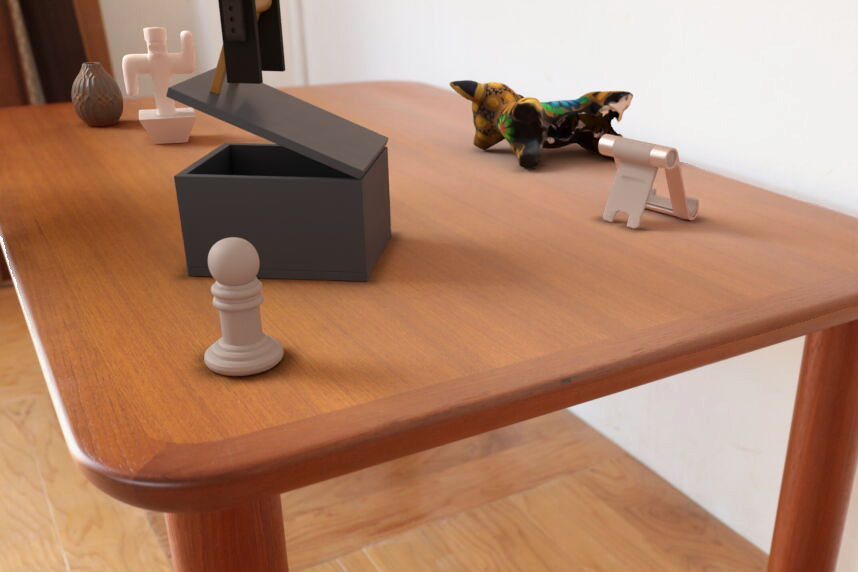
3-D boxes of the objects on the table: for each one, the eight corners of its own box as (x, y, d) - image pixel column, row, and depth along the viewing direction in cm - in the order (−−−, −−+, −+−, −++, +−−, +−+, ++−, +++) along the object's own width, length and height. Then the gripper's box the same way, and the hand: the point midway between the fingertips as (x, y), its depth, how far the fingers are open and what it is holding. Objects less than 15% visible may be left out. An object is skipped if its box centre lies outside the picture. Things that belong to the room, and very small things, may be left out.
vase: (102, 130, 130) (91, 67, 126) (66, 126, 132) (54, 64, 128) (136, 121, 136) (127, 61, 132) (101, 117, 138) (90, 58, 134)
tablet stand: (697, 219, 95) (706, 140, 91) (652, 234, 90) (659, 151, 86) (633, 202, 100) (639, 126, 97) (587, 215, 95) (591, 136, 92)
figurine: (134, 136, 127) (116, 24, 120) (204, 132, 130) (190, 23, 123) (134, 147, 120) (114, 30, 114) (207, 143, 123) (192, 28, 117)
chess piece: (296, 366, 62) (284, 242, 58) (220, 385, 59) (202, 257, 55) (267, 339, 66) (254, 221, 62) (194, 356, 63) (176, 234, 59)
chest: (188, 276, 77) (173, 175, 74) (235, 231, 89) (224, 142, 85) (367, 281, 77) (361, 180, 73) (391, 235, 88) (387, 146, 84)
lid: (165, 96, 71) (195, -20, 67) (219, 72, 82) (247, -27, 79) (359, 179, 73) (399, 72, 69) (386, 145, 84) (421, 51, 81)
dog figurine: (625, 189, 120) (549, 151, 133) (652, 97, 116) (570, 67, 129) (505, 178, 109) (434, 138, 121) (529, 75, 104) (453, 45, 117)
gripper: (235, -270, 58) (268, 97, 67) (308, -225, 75) (327, 62, 85) (120, -272, 58) (170, 94, 68) (220, -227, 75) (248, 59, 85)
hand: (257, 75), depth 76 cm, fingers closed on lid, 6 cm apart
